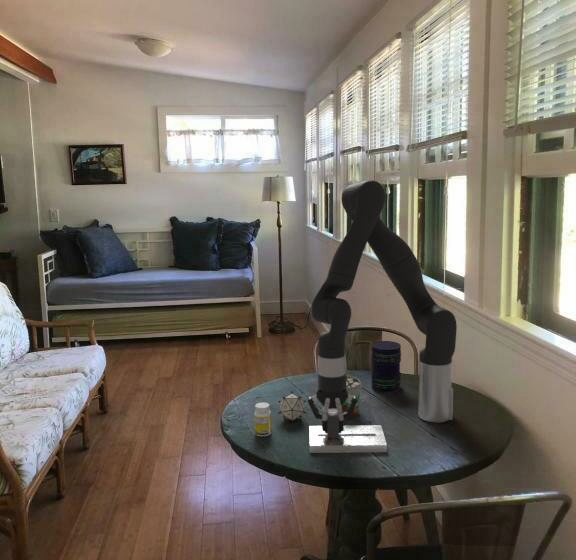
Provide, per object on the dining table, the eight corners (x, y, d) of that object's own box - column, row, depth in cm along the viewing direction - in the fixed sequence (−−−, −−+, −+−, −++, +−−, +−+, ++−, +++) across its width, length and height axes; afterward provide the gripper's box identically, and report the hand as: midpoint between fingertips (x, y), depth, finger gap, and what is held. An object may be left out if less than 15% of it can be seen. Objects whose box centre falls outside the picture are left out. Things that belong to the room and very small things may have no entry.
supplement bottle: (262, 428, 166) (261, 400, 165) (275, 432, 163) (274, 404, 162) (251, 434, 163) (250, 405, 161) (264, 438, 160) (263, 409, 158)
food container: (360, 422, 168) (360, 389, 166) (339, 421, 169) (339, 388, 168) (363, 406, 180) (363, 375, 178) (344, 404, 181) (343, 374, 180)
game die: (290, 428, 174) (289, 396, 179) (313, 424, 169) (312, 391, 174) (271, 423, 168) (271, 389, 172) (294, 418, 163) (294, 384, 168)
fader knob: (337, 429, 158) (337, 408, 157) (339, 437, 153) (338, 416, 152) (327, 429, 158) (326, 409, 157) (327, 438, 154) (327, 416, 152)
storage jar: (365, 389, 194) (365, 346, 191) (379, 380, 202) (379, 339, 199) (392, 395, 188) (392, 351, 186) (405, 386, 196) (406, 343, 193)
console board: (380, 431, 162) (380, 424, 161) (386, 452, 150) (386, 444, 150) (309, 432, 162) (309, 425, 162) (309, 452, 151) (309, 445, 150)
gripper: (357, 366, 156) (357, 425, 159) (305, 366, 157) (306, 426, 160) (359, 375, 149) (360, 438, 152) (305, 376, 149) (306, 438, 152)
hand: (332, 431), depth 156 cm, fingers closed on fader knob, 3 cm apart
